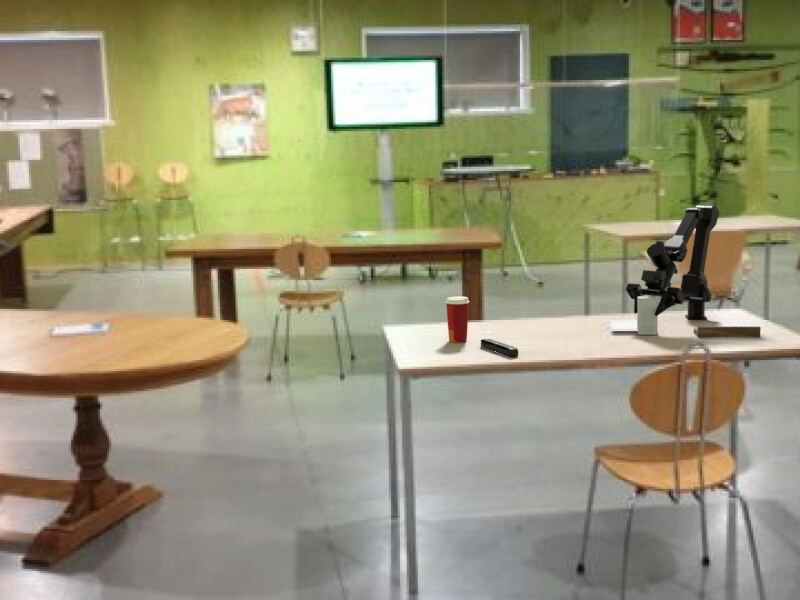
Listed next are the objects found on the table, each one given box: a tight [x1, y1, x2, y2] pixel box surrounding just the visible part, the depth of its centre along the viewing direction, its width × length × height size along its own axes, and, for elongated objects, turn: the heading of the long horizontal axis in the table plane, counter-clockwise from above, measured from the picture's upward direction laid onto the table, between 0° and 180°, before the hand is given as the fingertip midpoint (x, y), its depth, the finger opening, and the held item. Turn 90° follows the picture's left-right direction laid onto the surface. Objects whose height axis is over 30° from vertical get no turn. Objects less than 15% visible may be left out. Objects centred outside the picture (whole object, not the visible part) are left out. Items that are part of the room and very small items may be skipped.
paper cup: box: [444, 295, 470, 344], centre depth 318 cm, size 8×8×14 cm
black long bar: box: [480, 338, 519, 358], centre depth 302 cm, size 18×3×3 cm, turn 26°
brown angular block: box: [693, 326, 761, 338], centre depth 318 cm, size 8×19×3 cm, turn 83°
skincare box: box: [636, 295, 659, 336], centre depth 323 cm, size 6×4×12 cm
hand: (645, 314), depth 321 cm, fingers closed on skincare box, 7 cm apart
